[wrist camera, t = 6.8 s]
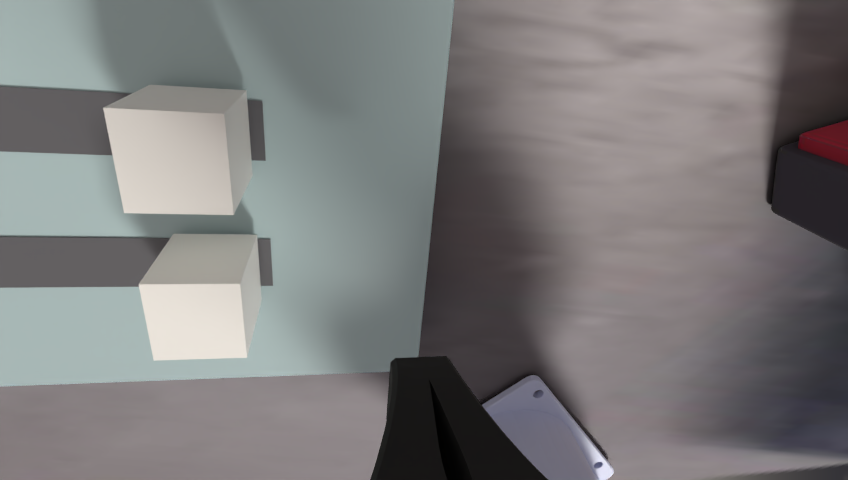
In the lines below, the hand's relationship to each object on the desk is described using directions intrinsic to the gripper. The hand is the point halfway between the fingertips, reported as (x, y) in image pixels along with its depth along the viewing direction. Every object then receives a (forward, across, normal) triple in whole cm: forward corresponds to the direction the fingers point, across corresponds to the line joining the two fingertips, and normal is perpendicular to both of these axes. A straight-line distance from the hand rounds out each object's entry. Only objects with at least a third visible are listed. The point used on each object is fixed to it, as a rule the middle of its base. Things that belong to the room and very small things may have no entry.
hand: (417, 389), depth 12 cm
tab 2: (+6, +6, 0) cm, 8 cm away
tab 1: (+6, +6, -4) cm, 9 cm away
